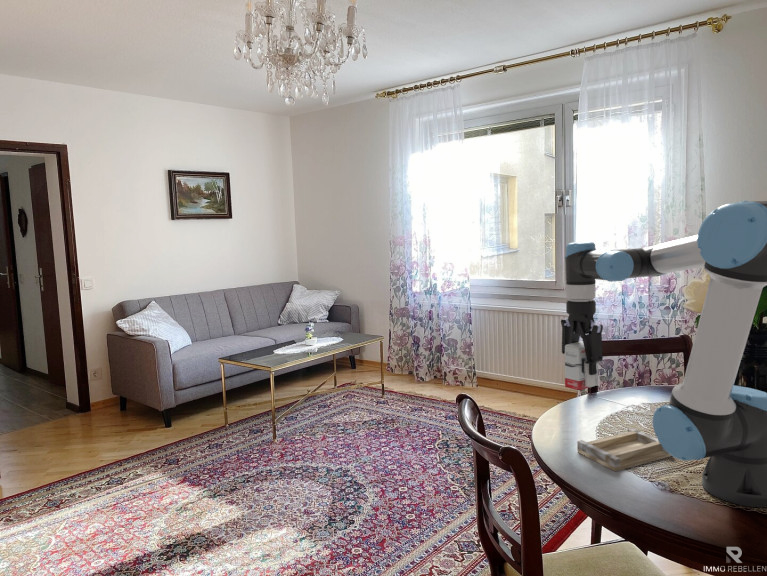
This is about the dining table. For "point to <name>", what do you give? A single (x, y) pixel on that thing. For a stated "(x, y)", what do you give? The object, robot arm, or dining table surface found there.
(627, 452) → the wooden tray
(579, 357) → the ink box
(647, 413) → the dining table surface
